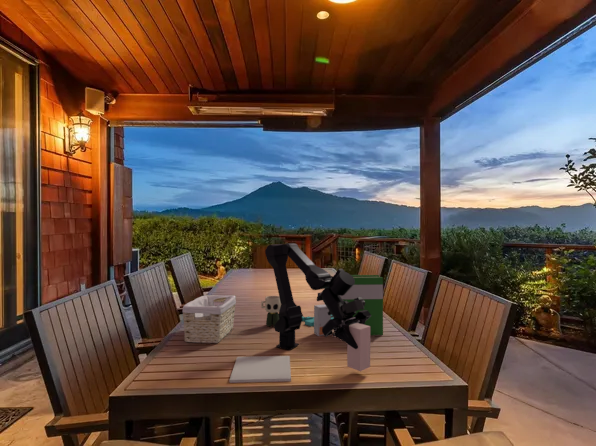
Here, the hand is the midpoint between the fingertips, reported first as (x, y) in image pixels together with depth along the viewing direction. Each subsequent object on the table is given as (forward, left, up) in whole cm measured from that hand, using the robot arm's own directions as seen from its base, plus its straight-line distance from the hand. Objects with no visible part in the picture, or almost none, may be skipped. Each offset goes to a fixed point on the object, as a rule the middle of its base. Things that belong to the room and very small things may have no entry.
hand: (362, 346), depth 108 cm
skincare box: (-30, -28, -9) cm, 43 cm away
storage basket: (-7, -69, -9) cm, 70 cm away
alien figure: (-48, -37, -10) cm, 62 cm away
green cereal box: (-40, -15, -9) cm, 44 cm away
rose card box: (0, -1, -7) cm, 7 cm away
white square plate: (+12, -29, -9) cm, 33 cm away
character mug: (-30, -53, -9) cm, 62 cm away
